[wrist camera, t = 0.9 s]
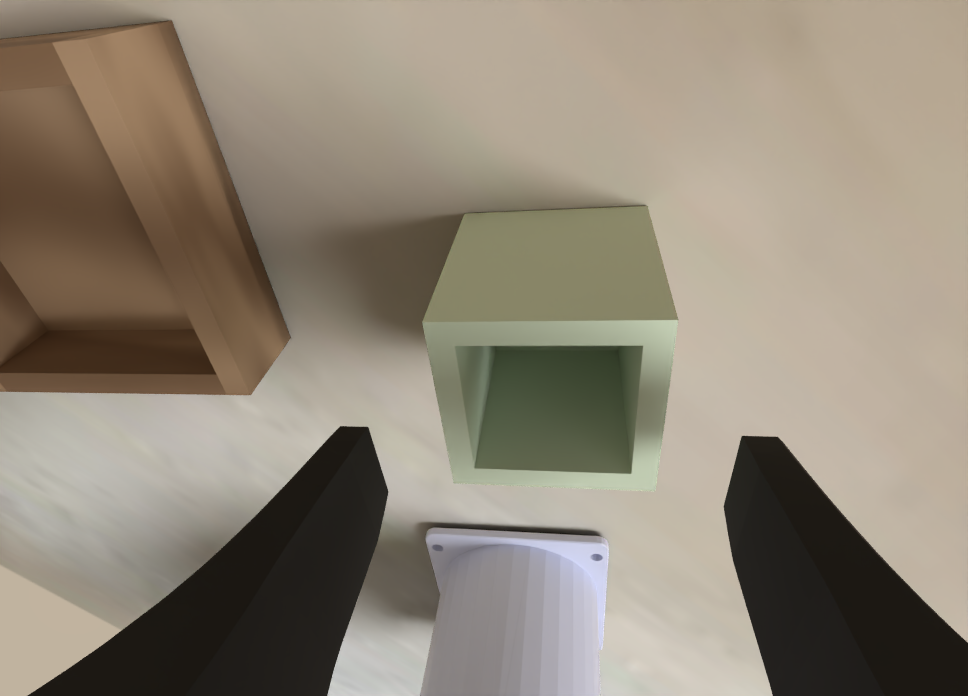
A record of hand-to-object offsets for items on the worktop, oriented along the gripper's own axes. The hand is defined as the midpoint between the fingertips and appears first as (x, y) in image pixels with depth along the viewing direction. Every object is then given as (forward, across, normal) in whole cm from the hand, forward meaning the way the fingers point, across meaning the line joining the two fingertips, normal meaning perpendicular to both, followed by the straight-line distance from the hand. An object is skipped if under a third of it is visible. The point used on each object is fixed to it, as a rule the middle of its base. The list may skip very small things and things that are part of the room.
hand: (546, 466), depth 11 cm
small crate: (+7, 0, 0) cm, 7 cm away
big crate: (+7, +14, -3) cm, 16 cm away
